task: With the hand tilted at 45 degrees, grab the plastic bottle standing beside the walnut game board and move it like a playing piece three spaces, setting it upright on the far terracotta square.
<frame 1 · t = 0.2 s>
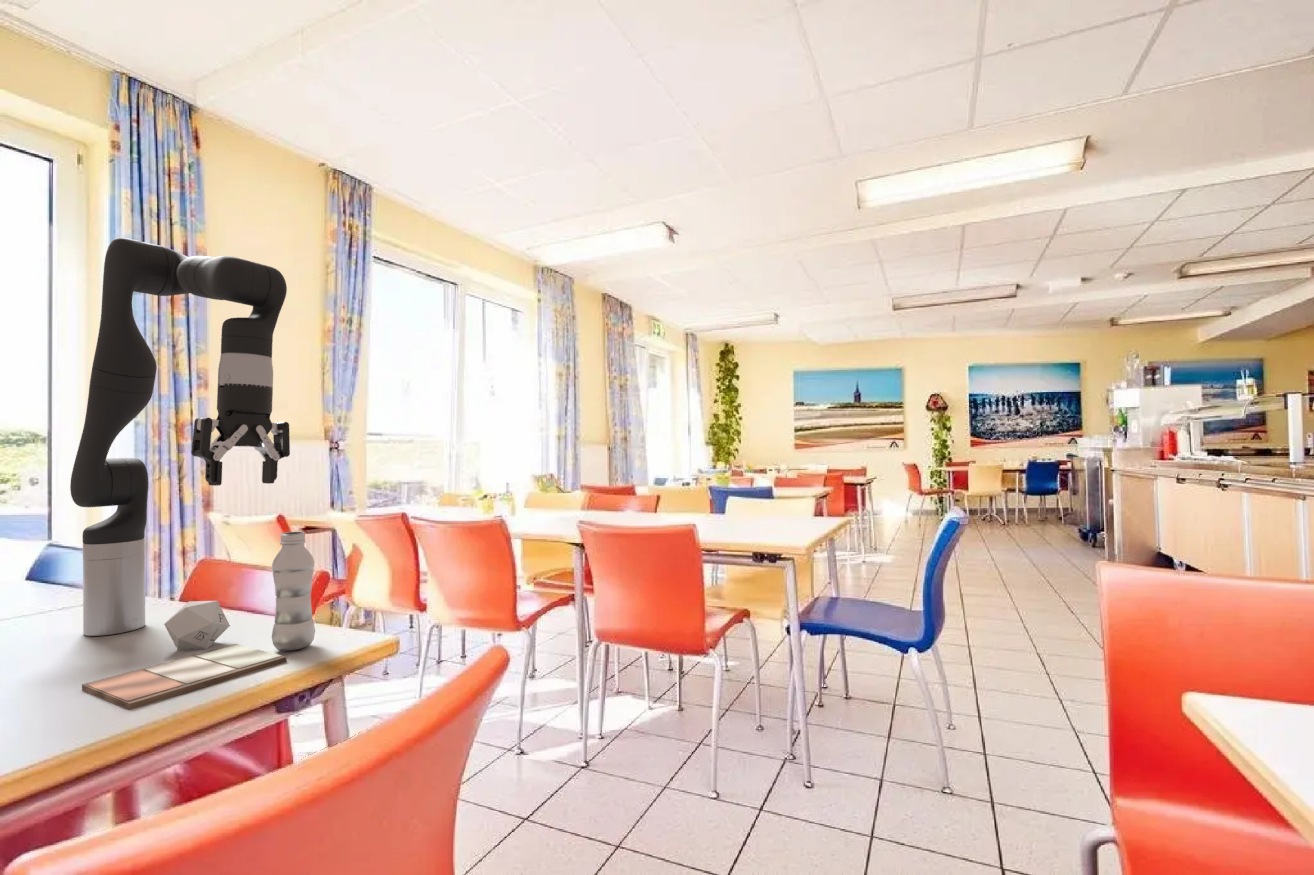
hand: (242, 484, 103), 29 cm above the table, tool pointing down, fingers open, 8 cm apart
plastic bottle: (294, 650, 110), on the table
die: (198, 647, 113), on the table
game board: (189, 675, 98), on the table
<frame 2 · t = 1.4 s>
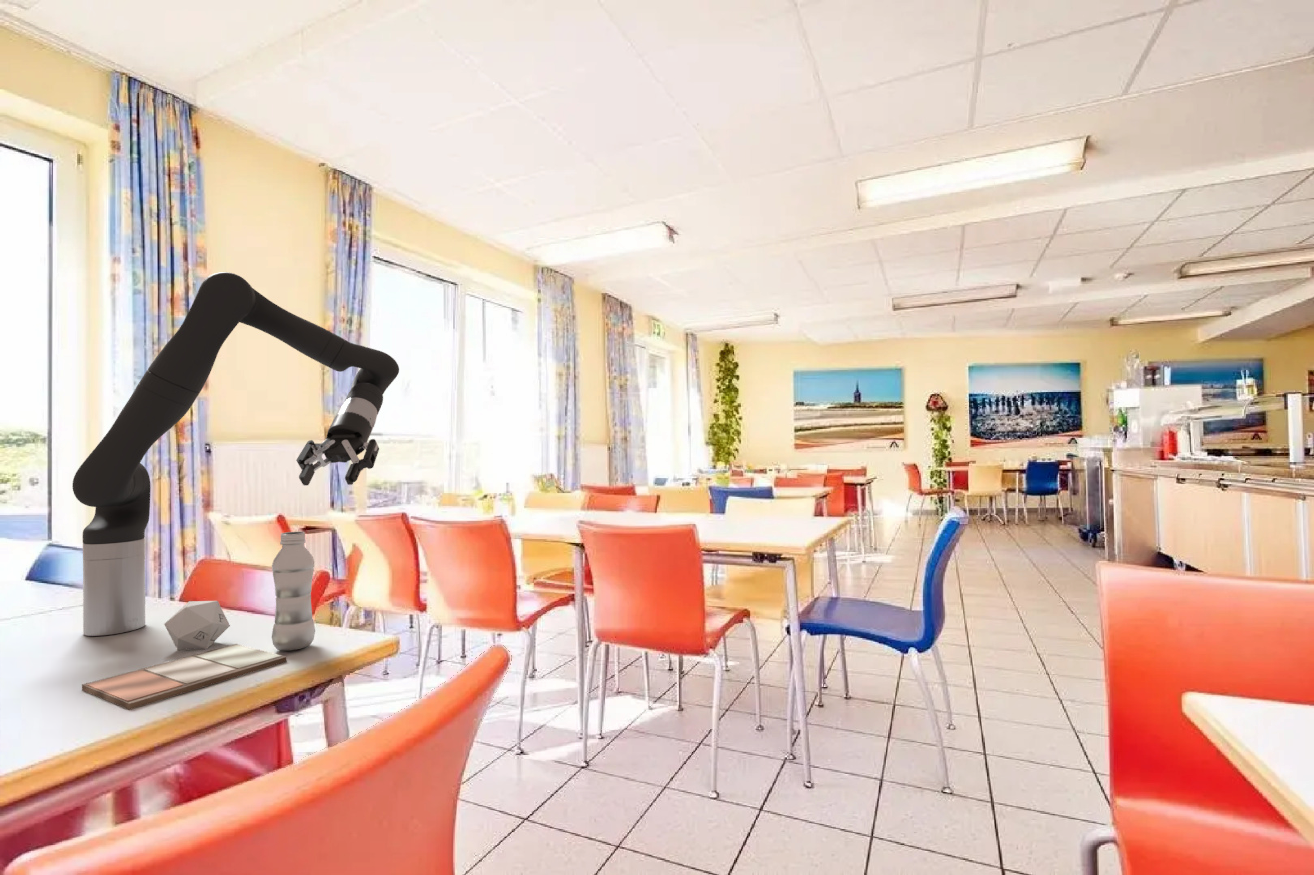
hand: (326, 482, 122), 28 cm above the table, tool tilted 45°, fingers open, 8 cm apart
nothing on the table moved.
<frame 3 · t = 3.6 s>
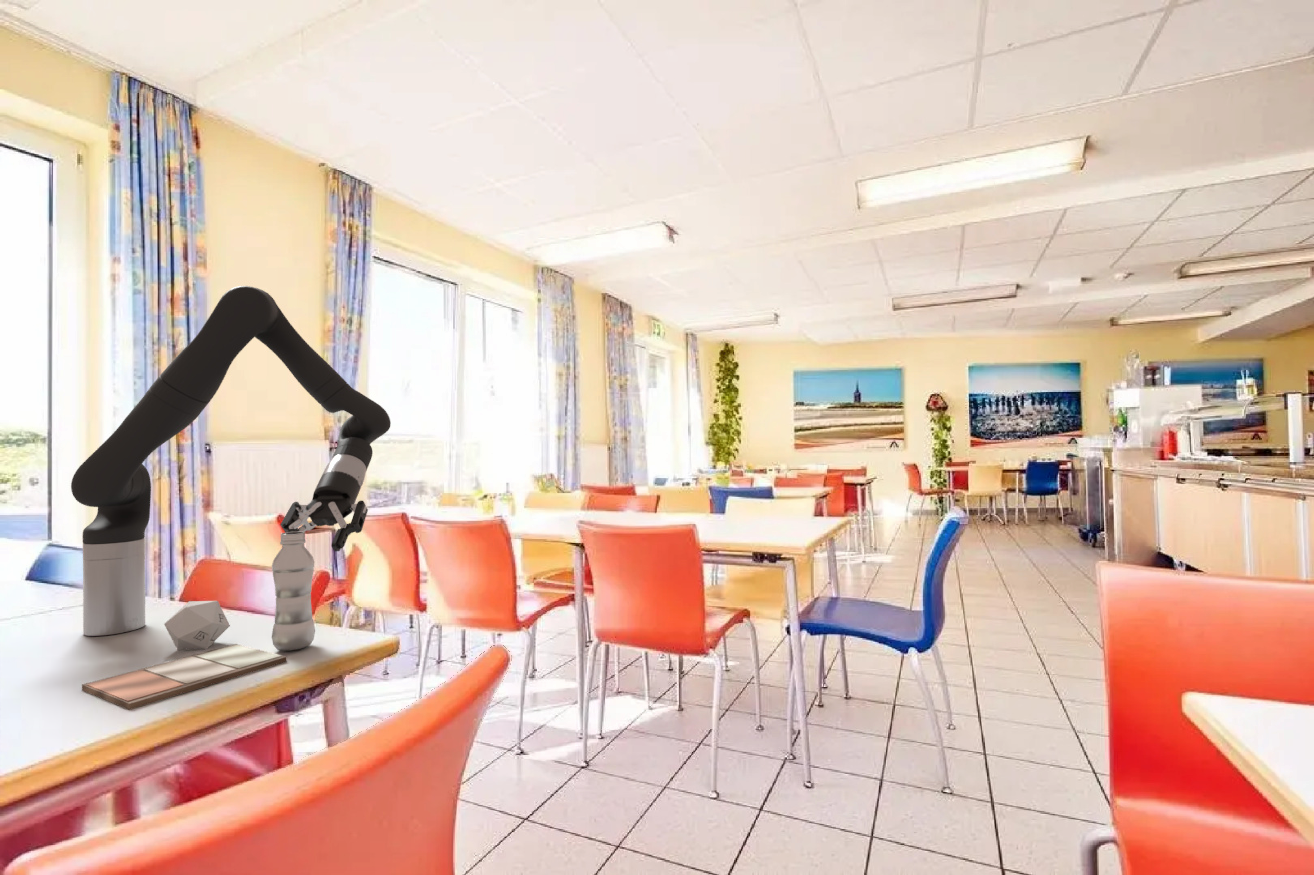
hand: (311, 549, 116), 16 cm above the table, tool tilted 45°, fingers open, 8 cm apart
nothing on the table moved.
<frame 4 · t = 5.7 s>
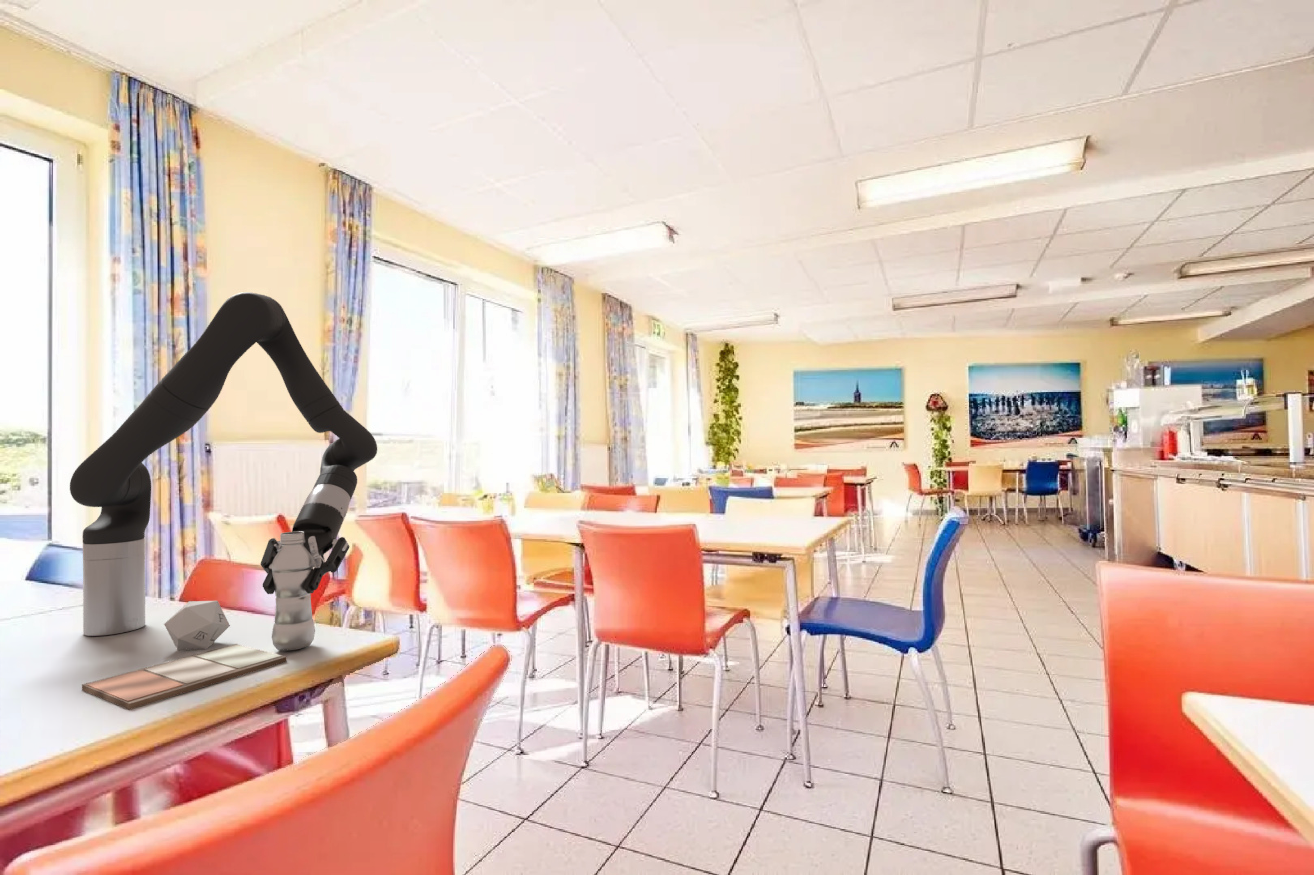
hand: (288, 591, 109), 10 cm above the table, tool tilted 45°, fingers closed on plastic bottle, 6 cm apart
plastic bottle: (294, 650, 110), on the table, touching gripper
everything else where it was.
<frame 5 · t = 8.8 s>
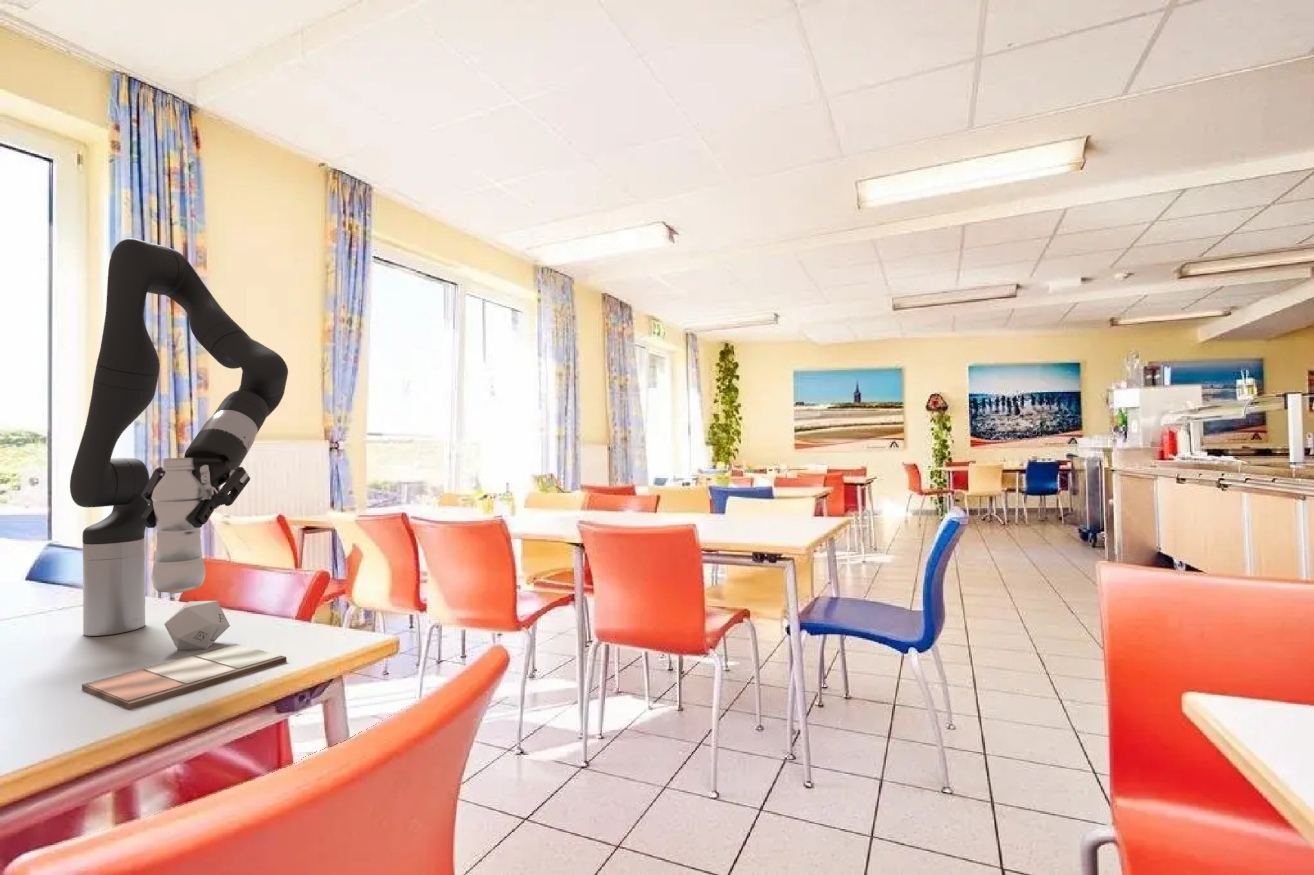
hand: (171, 524, 94), 24 cm above the table, tool tilted 45°, fingers closed on plastic bottle, 6 cm apart
plastic bottle: (179, 593, 96), point 13 cm above the table, touching gripper
everything else where it was.
when the fingers open (12 cm above the table, at t = 12.0 s): plastic bottle stays where it is, resting on game board.
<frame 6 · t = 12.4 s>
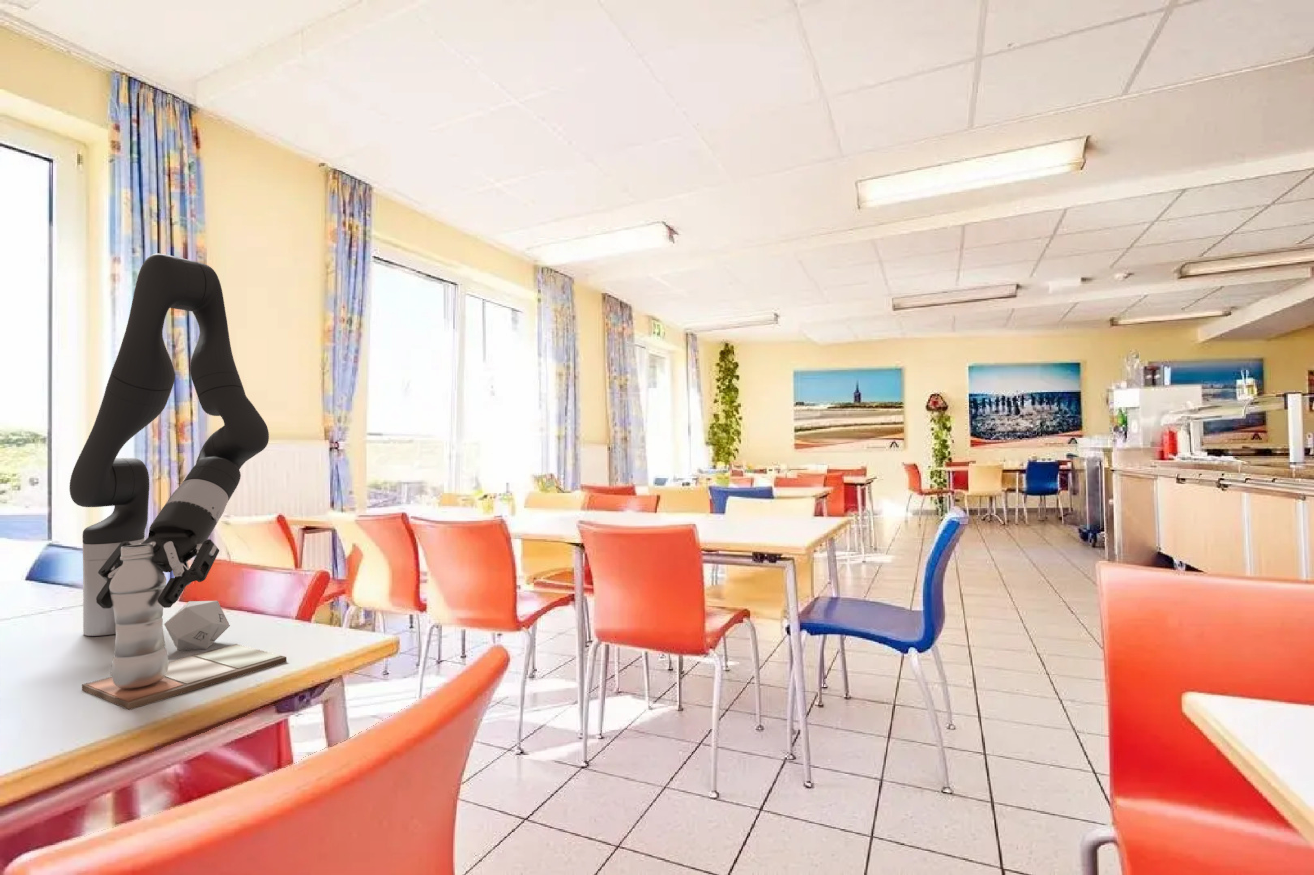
hand: (133, 605, 90), 13 cm above the table, tool tilted 45°, fingers open, 8 cm apart
plastic bottle: (141, 687, 91), point 1 cm above the table, touching game board
everything else where it was.
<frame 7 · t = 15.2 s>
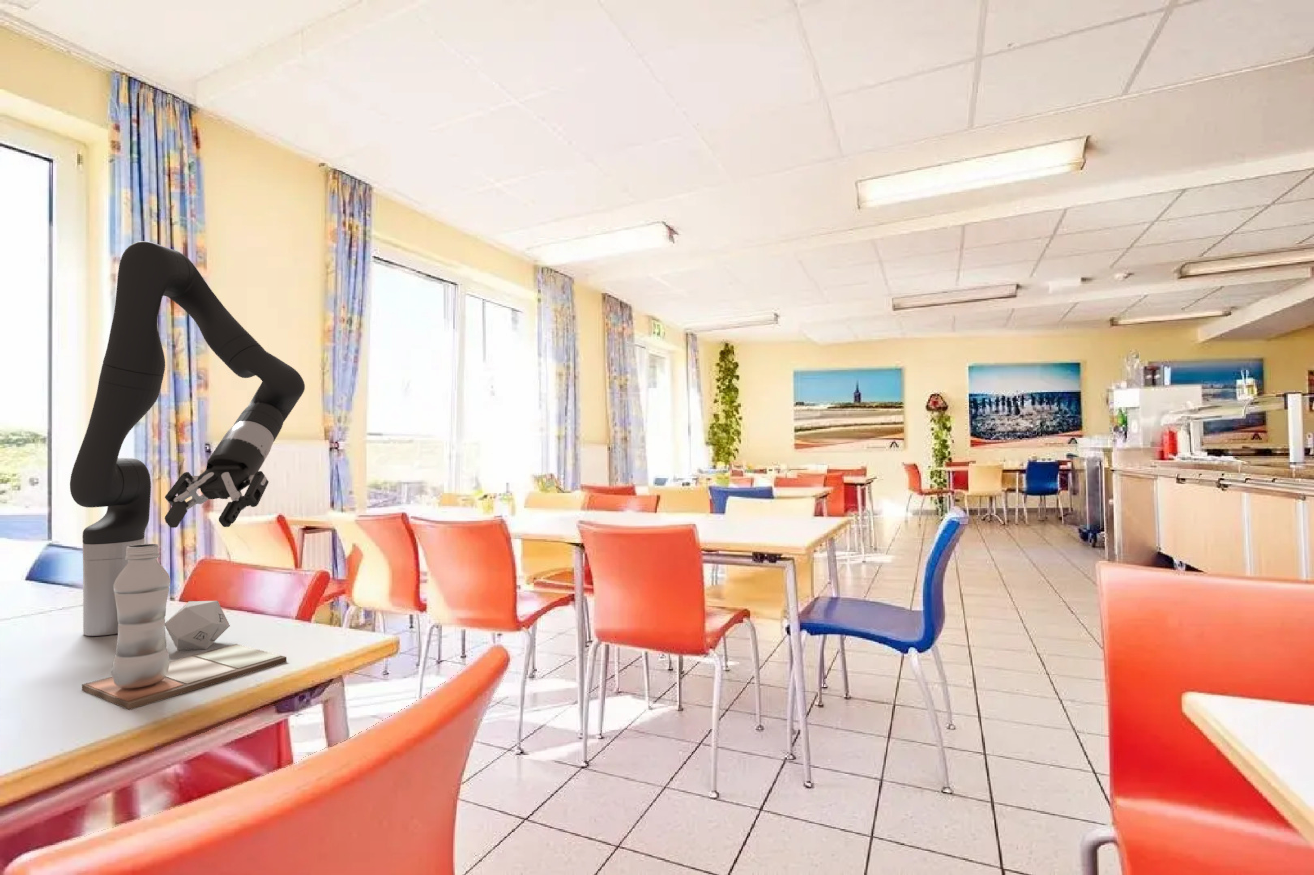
hand: (196, 524, 103), 23 cm above the table, tool tilted 45°, fingers open, 8 cm apart
nothing on the table moved.
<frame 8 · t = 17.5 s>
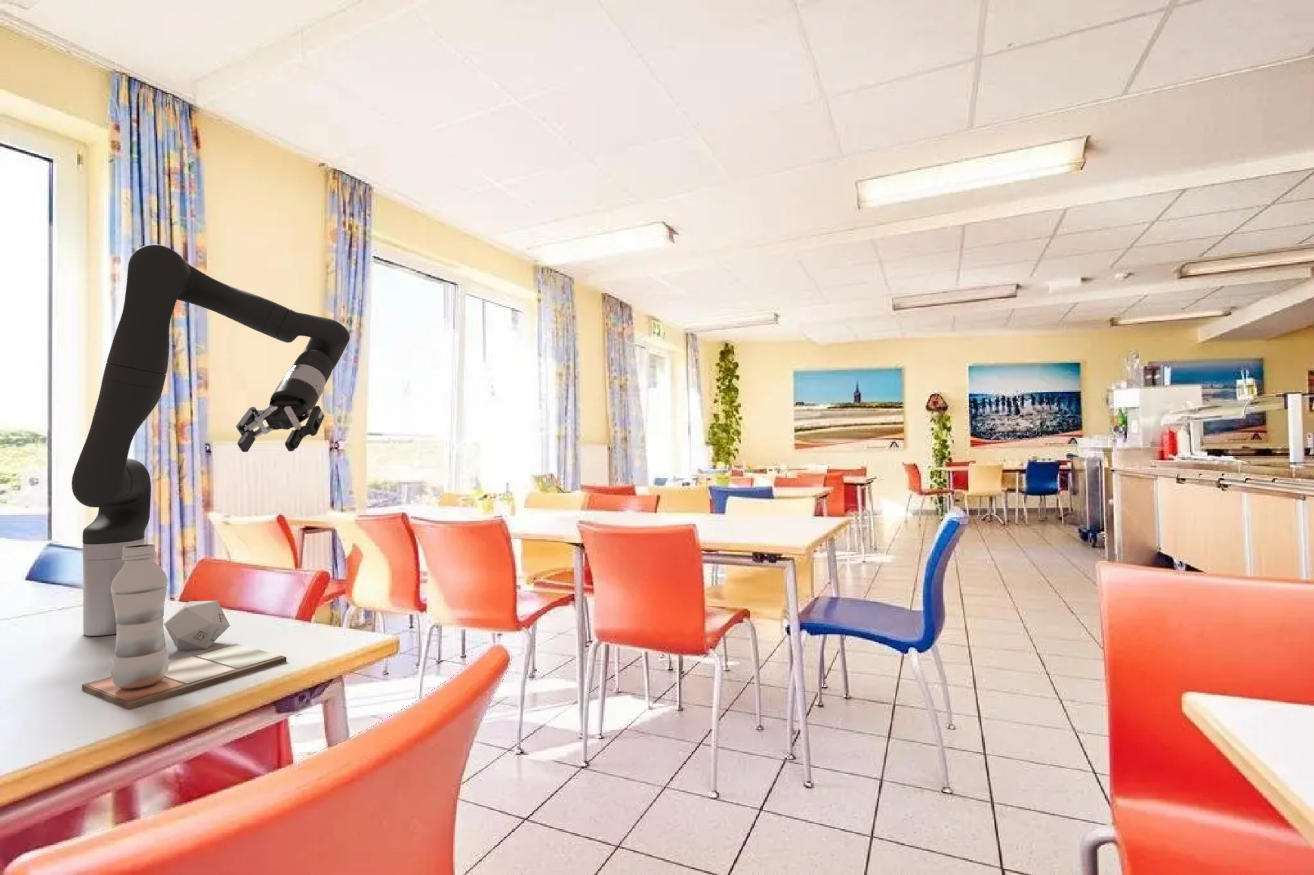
hand: (265, 448, 118), 35 cm above the table, tool tilted 45°, fingers open, 8 cm apart
nothing on the table moved.
at the end: plastic bottle inside the target area (0.4 cm from its centre), point 0.7 cm above the table; plastic bottle tilted 0°; the gripper is holding nothing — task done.
